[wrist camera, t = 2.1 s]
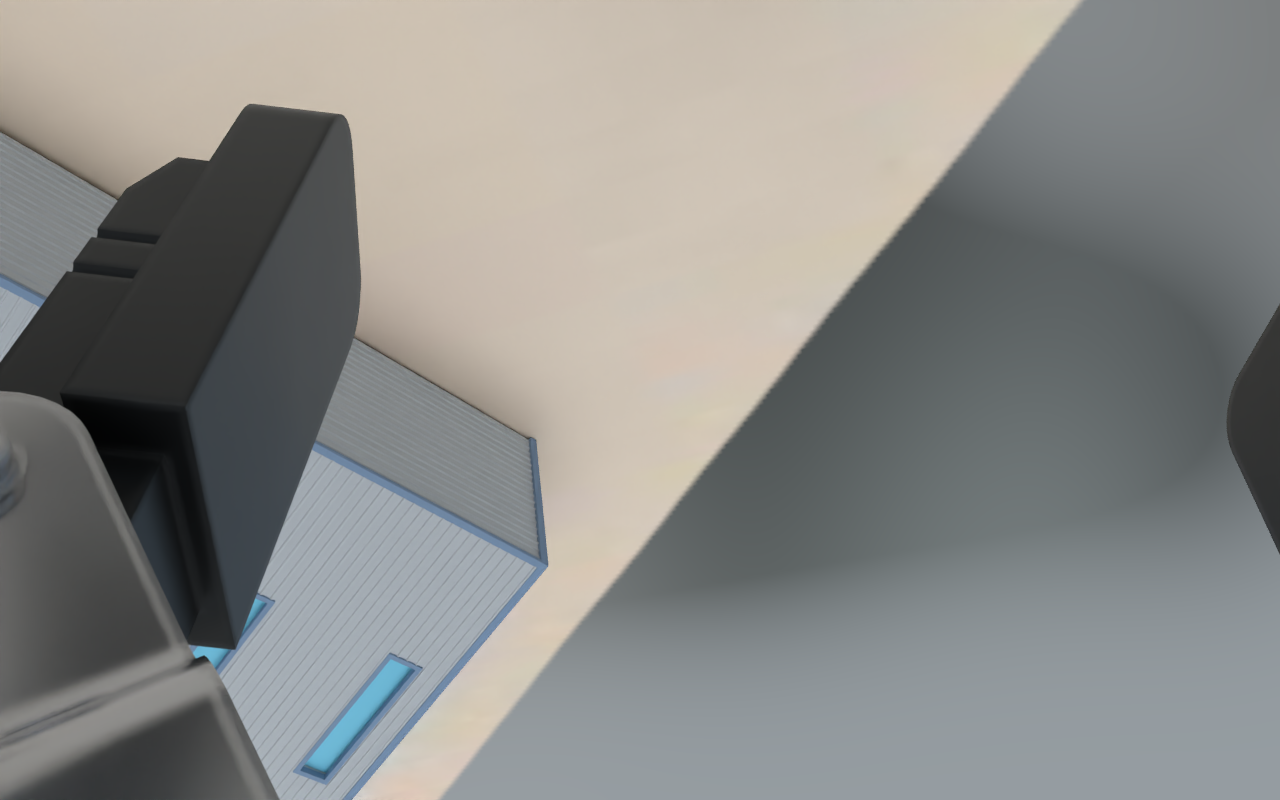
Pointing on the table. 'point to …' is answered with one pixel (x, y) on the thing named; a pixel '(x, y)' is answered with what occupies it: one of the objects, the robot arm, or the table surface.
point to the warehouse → (336, 531)
